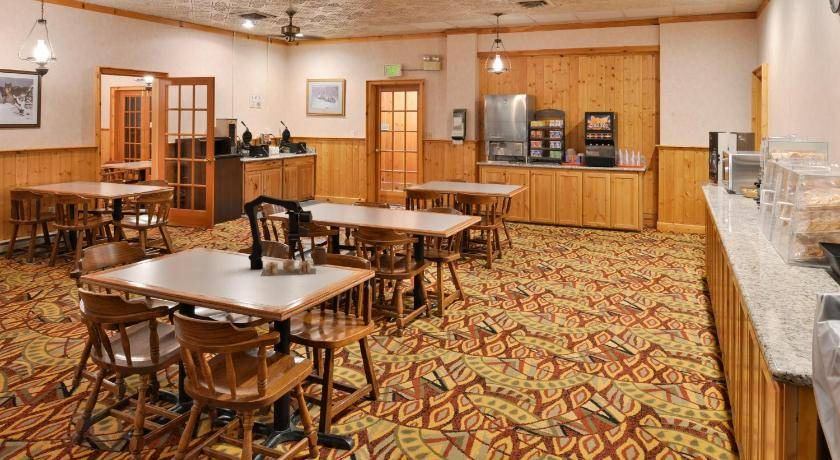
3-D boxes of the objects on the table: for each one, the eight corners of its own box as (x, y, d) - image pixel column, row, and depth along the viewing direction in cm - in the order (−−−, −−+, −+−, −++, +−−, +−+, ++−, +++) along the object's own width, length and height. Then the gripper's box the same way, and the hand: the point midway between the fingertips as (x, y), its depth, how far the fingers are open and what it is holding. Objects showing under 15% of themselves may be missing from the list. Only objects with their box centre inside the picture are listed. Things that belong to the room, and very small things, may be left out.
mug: (316, 267, 358) (316, 251, 357) (306, 266, 361) (305, 250, 360) (328, 263, 369) (328, 248, 367) (318, 262, 372) (317, 247, 371)
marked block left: (266, 275, 336) (265, 264, 335) (267, 272, 342) (266, 262, 341) (277, 274, 337) (276, 263, 336) (277, 272, 343) (277, 261, 342)
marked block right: (299, 274, 339) (298, 263, 338) (299, 271, 345) (299, 260, 344) (310, 273, 340) (309, 262, 339) (310, 271, 346) (310, 260, 345)
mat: (260, 277, 334) (260, 276, 334) (262, 271, 349) (262, 269, 349) (315, 275, 339) (315, 274, 338) (315, 269, 354) (315, 268, 354)
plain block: (283, 272, 343) (282, 261, 342) (283, 269, 349) (283, 259, 348) (294, 271, 344) (293, 261, 343) (294, 269, 350) (294, 259, 349)
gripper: (308, 224, 339) (308, 251, 342) (307, 219, 357) (308, 245, 360) (288, 224, 337) (288, 252, 339) (288, 219, 355) (288, 246, 358)
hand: (294, 249), depth 349 cm, fingers open, 9 cm apart
